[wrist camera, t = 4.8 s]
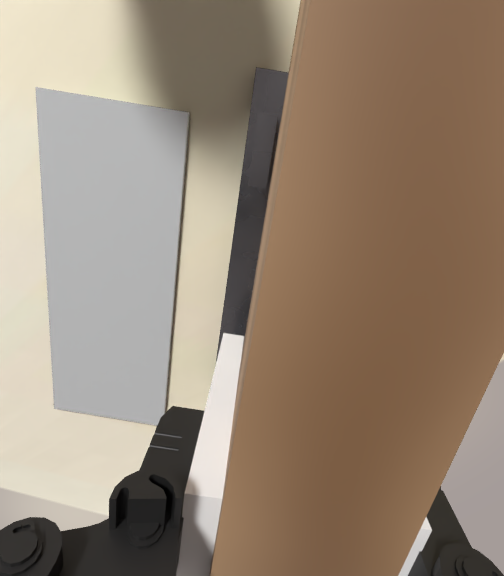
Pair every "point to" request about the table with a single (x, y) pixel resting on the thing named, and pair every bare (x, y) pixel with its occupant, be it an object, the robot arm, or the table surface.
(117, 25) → the table surface
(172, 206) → the mat
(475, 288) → the rail
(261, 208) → the stand
